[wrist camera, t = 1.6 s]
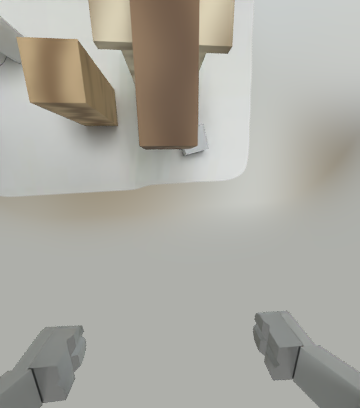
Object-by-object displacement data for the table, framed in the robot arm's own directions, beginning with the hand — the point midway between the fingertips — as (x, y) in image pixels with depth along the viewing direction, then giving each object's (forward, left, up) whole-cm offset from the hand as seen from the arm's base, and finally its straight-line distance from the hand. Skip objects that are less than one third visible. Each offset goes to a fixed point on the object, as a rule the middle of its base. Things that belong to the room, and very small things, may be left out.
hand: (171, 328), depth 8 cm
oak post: (-14, +19, -36) cm, 43 cm away
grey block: (+6, +12, -36) cm, 38 cm away
